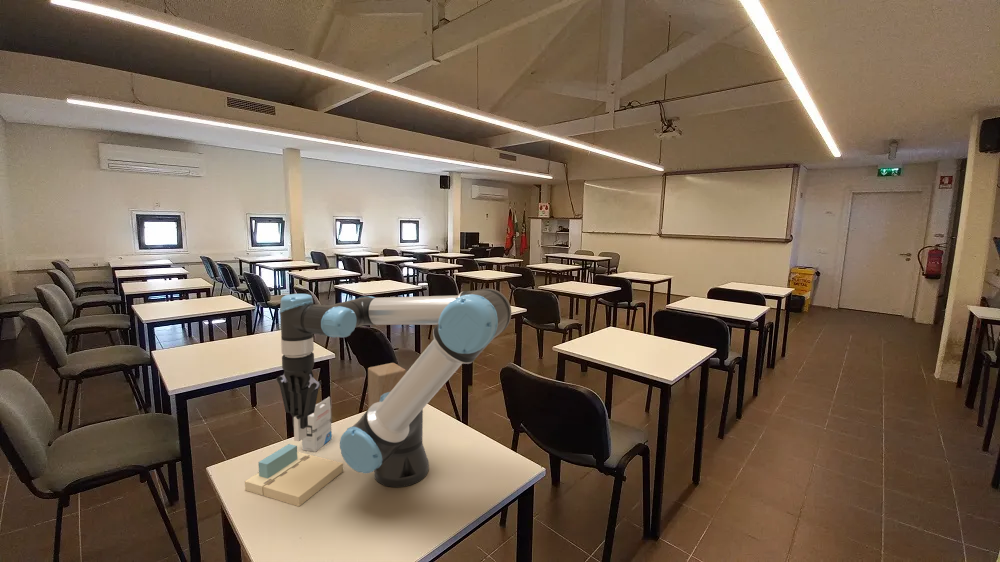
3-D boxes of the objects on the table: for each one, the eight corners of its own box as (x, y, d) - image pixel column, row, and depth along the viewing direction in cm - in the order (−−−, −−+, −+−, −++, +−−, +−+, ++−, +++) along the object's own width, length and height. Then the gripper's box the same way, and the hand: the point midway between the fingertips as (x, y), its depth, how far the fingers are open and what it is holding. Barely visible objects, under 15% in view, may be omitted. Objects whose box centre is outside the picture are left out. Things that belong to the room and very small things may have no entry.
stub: (309, 462, 120) (309, 441, 120) (262, 495, 105) (261, 471, 105) (293, 458, 122) (293, 438, 122) (245, 490, 107) (243, 466, 107)
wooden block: (394, 413, 154) (393, 362, 151) (406, 423, 146) (406, 369, 144) (368, 420, 147) (367, 367, 145) (380, 431, 140) (379, 375, 137)
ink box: (318, 436, 135) (317, 394, 133) (332, 438, 134) (331, 395, 133) (301, 450, 127) (299, 404, 125) (315, 452, 126) (314, 406, 124)
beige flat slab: (343, 471, 117) (342, 462, 116) (298, 506, 102) (298, 496, 101) (310, 462, 120) (310, 454, 120) (263, 495, 105) (263, 486, 105)
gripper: (328, 352, 108) (330, 436, 111) (290, 346, 112) (292, 427, 115) (306, 361, 101) (309, 450, 104) (266, 354, 105) (270, 440, 108)
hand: (300, 438), depth 110 cm, fingers closed
